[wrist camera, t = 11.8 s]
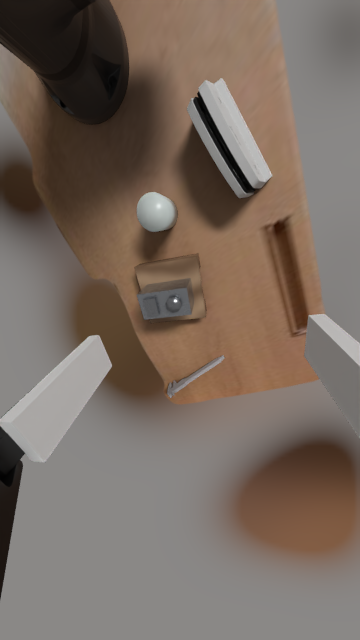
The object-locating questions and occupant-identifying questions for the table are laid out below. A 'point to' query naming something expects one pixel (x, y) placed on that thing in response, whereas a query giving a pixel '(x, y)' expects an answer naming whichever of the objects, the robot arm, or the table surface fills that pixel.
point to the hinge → (228, 138)
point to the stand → (175, 271)
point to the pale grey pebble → (156, 212)
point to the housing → (167, 299)
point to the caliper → (191, 377)
